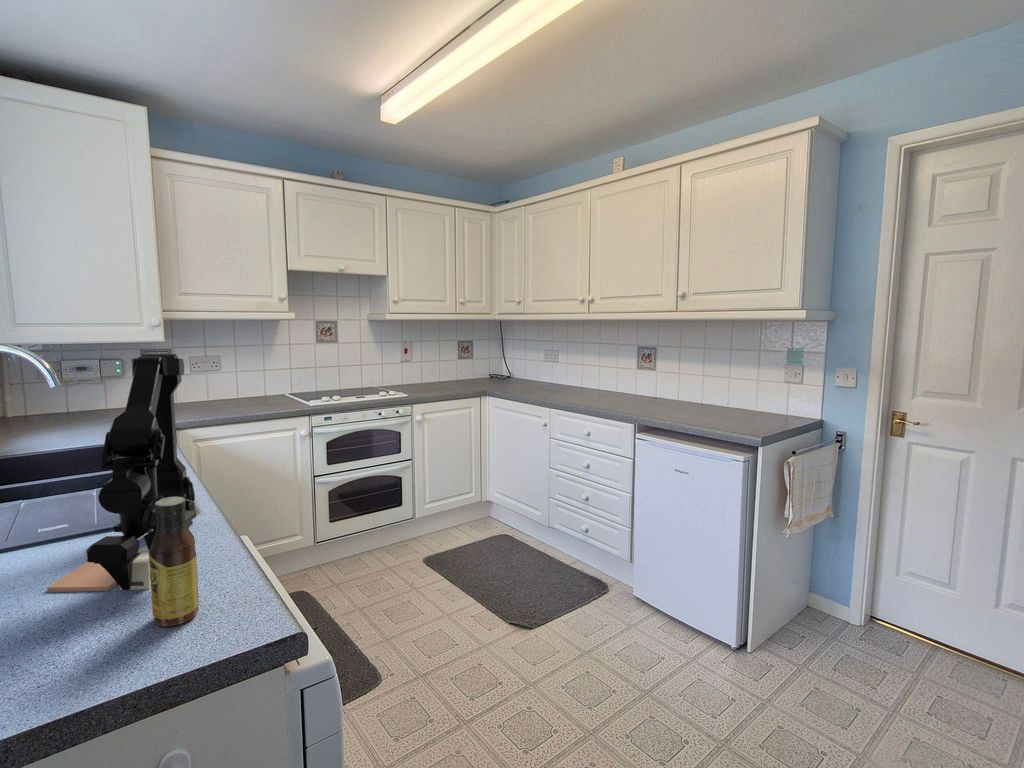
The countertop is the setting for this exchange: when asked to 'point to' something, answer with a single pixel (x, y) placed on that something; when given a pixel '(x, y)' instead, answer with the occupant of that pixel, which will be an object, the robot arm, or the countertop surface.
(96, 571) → the terracotta tile
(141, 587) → the cream letter cube
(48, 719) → the countertop surface
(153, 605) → the sauce bottle
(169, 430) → the robot arm
